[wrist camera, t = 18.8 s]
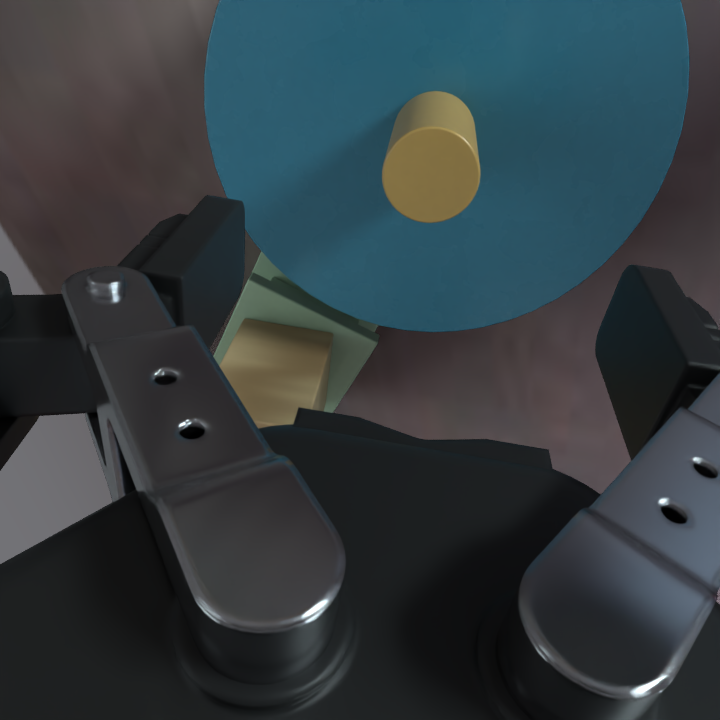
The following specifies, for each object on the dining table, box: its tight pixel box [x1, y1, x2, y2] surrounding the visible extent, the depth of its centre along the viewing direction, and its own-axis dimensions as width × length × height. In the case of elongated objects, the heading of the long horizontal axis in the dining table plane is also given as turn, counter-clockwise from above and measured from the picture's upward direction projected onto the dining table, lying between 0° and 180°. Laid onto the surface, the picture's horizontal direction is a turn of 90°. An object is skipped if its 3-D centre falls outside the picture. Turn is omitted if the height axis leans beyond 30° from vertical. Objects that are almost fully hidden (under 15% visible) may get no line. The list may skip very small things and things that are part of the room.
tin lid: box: [204, 0, 690, 332], centre depth 20 cm, size 16×16×6 cm
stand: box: [213, 251, 379, 413], centre depth 32 cm, size 7×7×4 cm
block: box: [219, 318, 334, 428], centre depth 28 cm, size 4×4×7 cm
